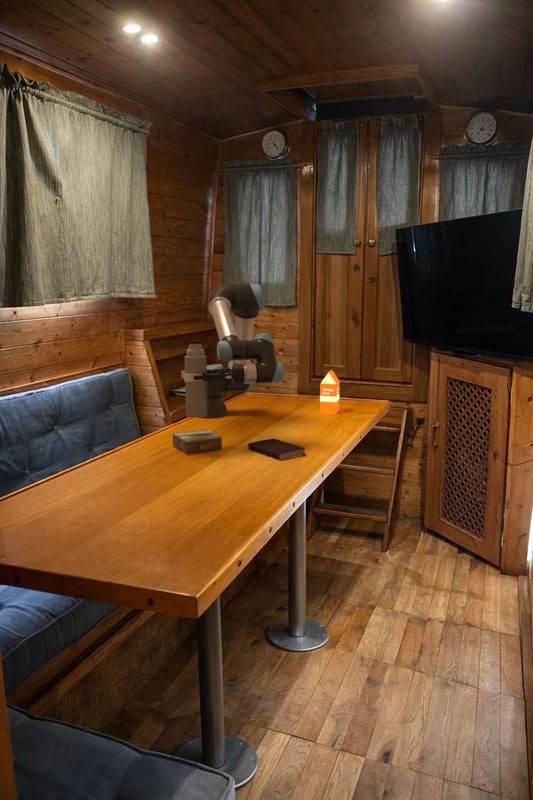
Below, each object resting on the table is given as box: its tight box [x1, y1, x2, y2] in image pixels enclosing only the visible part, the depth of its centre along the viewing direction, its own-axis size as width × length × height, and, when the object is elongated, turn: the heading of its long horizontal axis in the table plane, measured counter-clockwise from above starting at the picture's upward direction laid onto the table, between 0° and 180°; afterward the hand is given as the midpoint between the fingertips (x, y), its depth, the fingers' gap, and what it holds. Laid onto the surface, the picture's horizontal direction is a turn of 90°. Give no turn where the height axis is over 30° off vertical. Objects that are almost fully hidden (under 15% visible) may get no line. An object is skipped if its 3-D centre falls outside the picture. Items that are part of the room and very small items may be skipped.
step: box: [172, 428, 223, 455], centre depth 246 cm, size 15×14×5 cm
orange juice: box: [319, 369, 340, 415], centre depth 309 cm, size 8×9×20 cm
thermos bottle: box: [184, 340, 207, 418], centre depth 242 cm, size 8×8×28 cm
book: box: [247, 438, 306, 461], centre depth 240 cm, size 12×19×3 cm, turn 36°
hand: (182, 376), depth 240 cm, fingers closed on thermos bottle, 8 cm apart
